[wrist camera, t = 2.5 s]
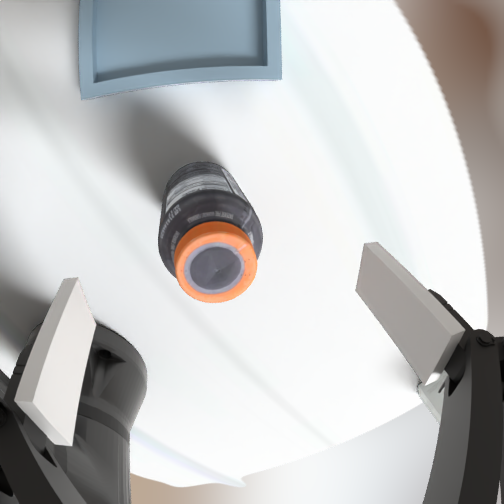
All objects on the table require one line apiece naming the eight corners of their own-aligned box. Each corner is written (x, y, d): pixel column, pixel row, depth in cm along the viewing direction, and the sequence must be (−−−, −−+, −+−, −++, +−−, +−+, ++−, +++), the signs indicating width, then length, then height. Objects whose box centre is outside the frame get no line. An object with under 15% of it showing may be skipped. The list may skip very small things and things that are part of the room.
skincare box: (417, 395, 53) (451, 446, 40) (417, 383, 50) (454, 439, 37) (448, 372, 52) (484, 421, 39) (450, 359, 49) (489, 411, 36)
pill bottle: (221, 239, 26) (247, 330, 17) (154, 218, 24) (140, 305, 15) (249, 175, 24) (298, 236, 15) (179, 149, 22) (176, 195, 12)
